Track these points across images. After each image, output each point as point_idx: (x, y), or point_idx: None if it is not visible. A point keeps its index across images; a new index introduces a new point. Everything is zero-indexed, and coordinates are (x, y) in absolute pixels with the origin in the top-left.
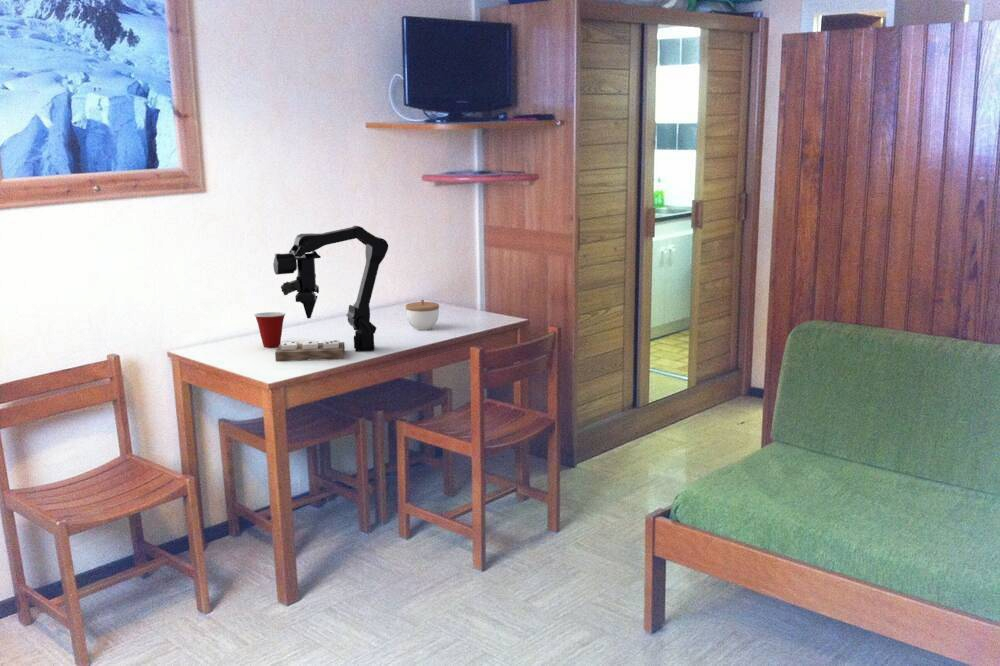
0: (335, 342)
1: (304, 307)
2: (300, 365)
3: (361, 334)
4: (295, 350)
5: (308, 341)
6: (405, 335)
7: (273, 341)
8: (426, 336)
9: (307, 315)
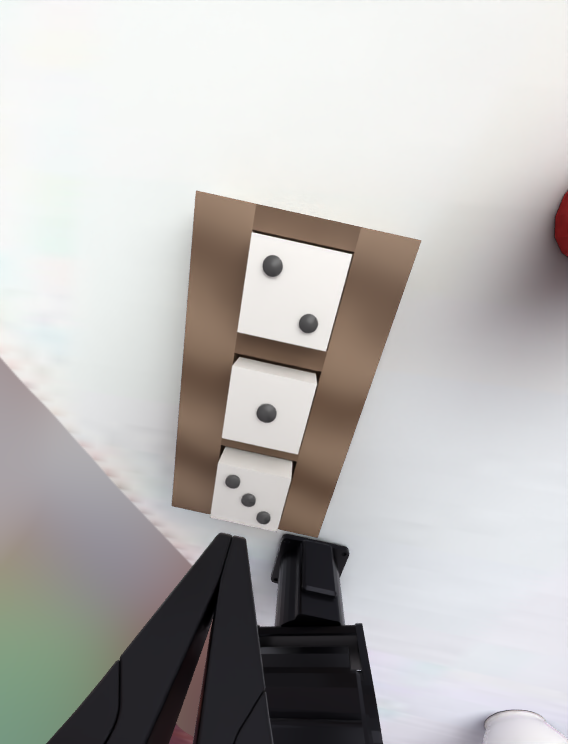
0: (236, 512)
1: (65, 723)
2: (112, 319)
3: (279, 621)
4: (216, 320)
5: (304, 409)
6: (446, 677)
7: None
8: (400, 703)
9: (195, 568)
